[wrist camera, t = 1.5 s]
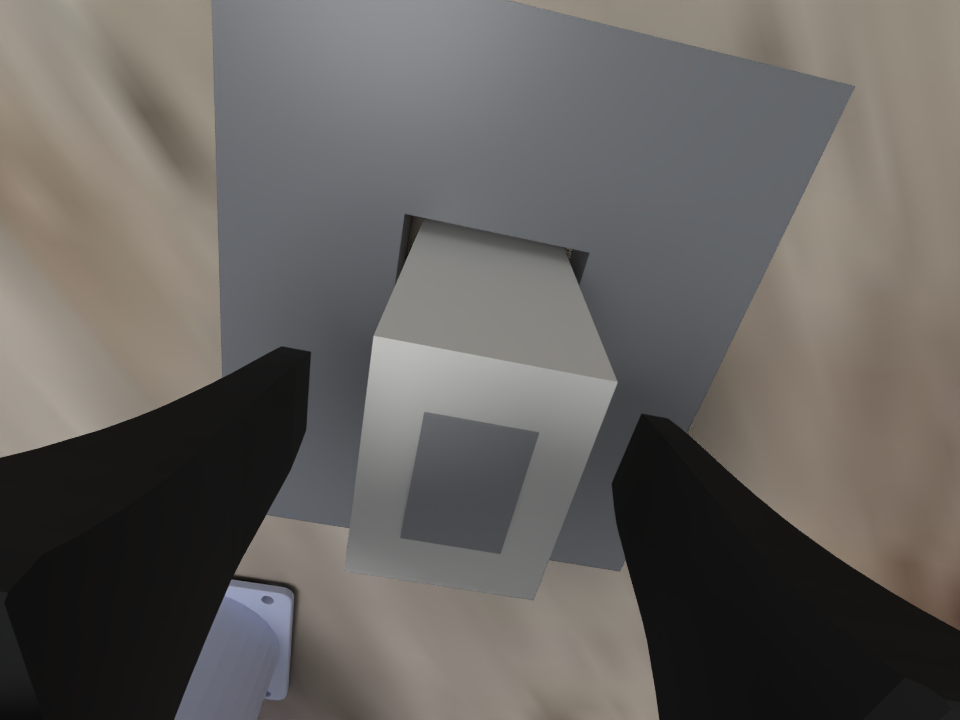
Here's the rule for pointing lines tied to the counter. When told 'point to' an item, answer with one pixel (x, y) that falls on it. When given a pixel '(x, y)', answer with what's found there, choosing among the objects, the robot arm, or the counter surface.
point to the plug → (476, 414)
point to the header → (495, 198)
